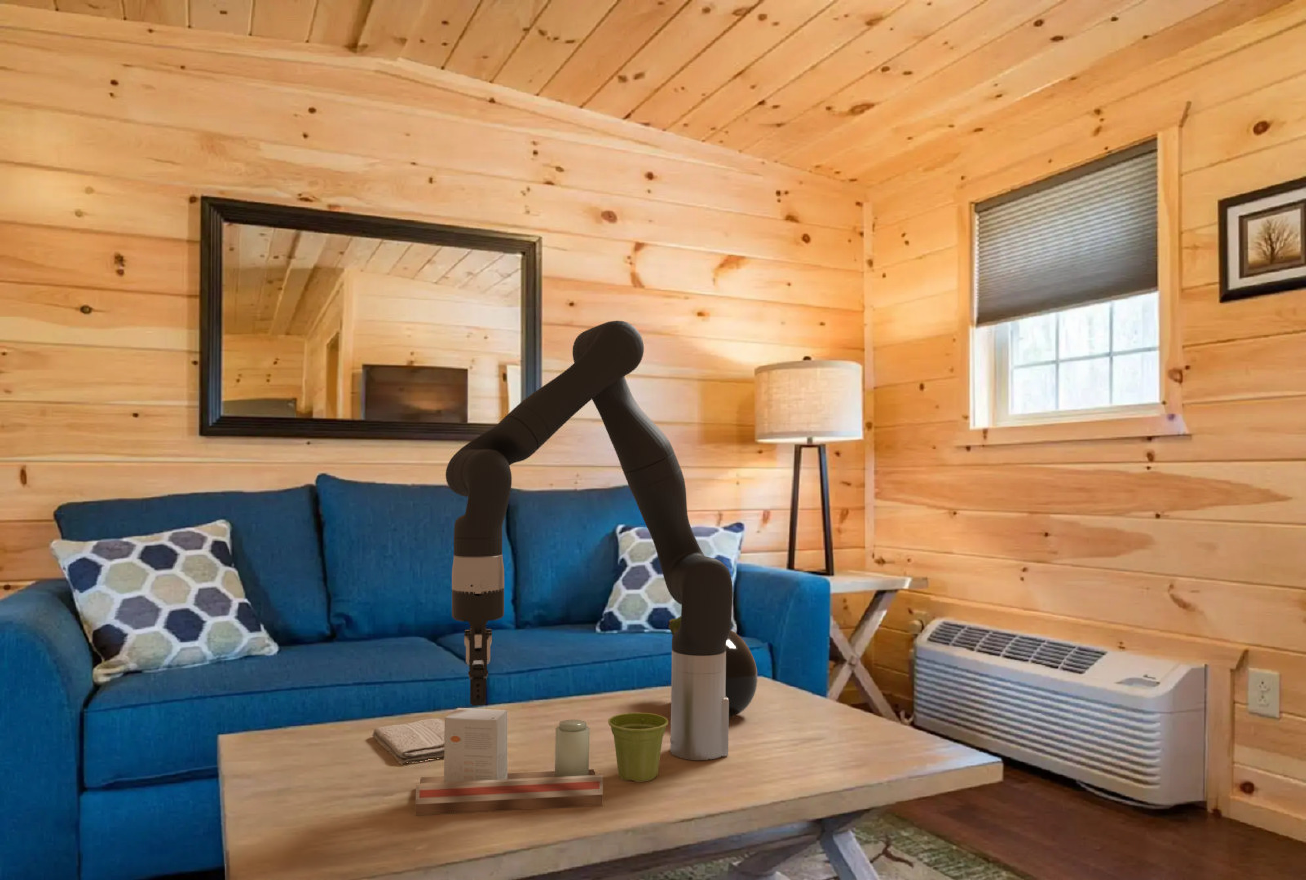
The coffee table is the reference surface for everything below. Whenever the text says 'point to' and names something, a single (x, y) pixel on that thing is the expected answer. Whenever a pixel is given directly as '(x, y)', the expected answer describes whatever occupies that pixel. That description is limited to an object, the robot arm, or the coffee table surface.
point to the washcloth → (413, 740)
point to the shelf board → (508, 793)
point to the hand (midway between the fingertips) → (478, 696)
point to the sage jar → (572, 748)
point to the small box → (475, 745)
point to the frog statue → (735, 671)
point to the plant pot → (638, 744)
